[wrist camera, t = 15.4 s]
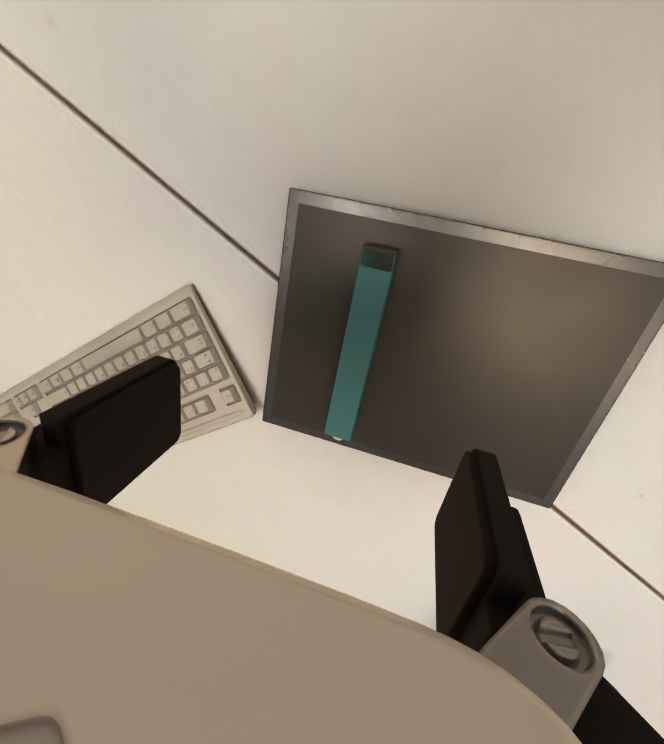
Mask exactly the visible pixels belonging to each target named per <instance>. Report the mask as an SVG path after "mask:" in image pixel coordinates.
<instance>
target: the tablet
mask: <svg viewBox="0 0 664 744" xmlns="http://www.w3.org/2000/svg"><path fill="white" fill-rule="evenodd" d="M369 242H370V243H375V244H379V245H384V246H388V247H393V248H398V249H399V250H400V251H399V255H398V259H397V263H396V267H395V270H394V273H393V277H392V281H391V285H390V289H389V293H388V297H387V301H386V305H385V309H384V313H383V317H382V321H381V325H380V329H379V333H378V337H377V341H376V345H375V349H374V353H373V357H372V361H371V365H370V369H369V373H368V377H367V381H366V385H365V388H364V392H363V396H362V400H361V404H360V408H359V412H358V416H357V420H356V424H355V428H354V431H353V434H352V437H351V439H350V441H347V440H336V439H334V438H333V436H330V435H327V434H324V431H325V427H326V422H327V417H328V412H329V408H330V403H331V398H332V393H333V388H334V384H335V379H336V374H337V369H338V365H339V360H340V355H341V350H342V345H343V341H344V336H345V331H346V326H347V321H348V317H349V312H350V307H351V302H352V298H353V293H354V288H355V283H356V278H357V274H358V269H359V263H360V258H361V253H362V248H363V245H364V244H366V243H369ZM663 323H664V262H659V261H654V260H649V259H644V258H639V257H634V256H629V255H624V254H619V253H614V252H609V251H604V250H599V249H594V248H589V247H584V246H579V245H574V244H569V243H564V242H559V241H554V240H549V239H544V238H539V237H534V236H529V235H524V234H519V233H514V232H509V231H504V230H499V229H494V228H489V227H484V226H479V225H475V224H470V223H465V222H460V221H455V220H450V219H445V218H440V217H435V216H430V215H425V214H420V213H415V212H410V211H405V210H400V209H395V208H390V207H385V206H380V205H375V204H370V203H365V202H360V201H355V200H350V199H345V198H340V197H335V196H330V195H325V194H320V193H315V192H310V191H305V190H300V189H295V188H290V191H289V199H288V208H287V216H286V225H285V233H284V241H283V250H282V258H281V267H280V275H279V284H278V292H277V301H276V309H275V318H274V326H273V335H272V343H271V352H270V360H269V369H268V377H267V386H266V394H265V403H264V411H263V419H262V420H263V421H265V422H269V423H272V424H275V425H278V426H282V427H285V428H288V429H292V430H295V431H298V432H301V433H305V434H308V435H311V436H314V437H318V438H321V439H324V440H327V441H331V442H334V443H337V444H341V445H344V446H347V447H350V448H354V449H357V450H360V451H363V452H367V453H370V454H373V455H376V456H380V457H383V458H386V459H390V460H393V461H396V462H399V463H403V464H406V465H409V466H412V467H416V468H419V469H422V470H425V471H429V472H432V473H435V474H439V475H442V476H445V477H448V478H452V479H453V478H454V476H455V473H456V471H457V469H458V466H459V464H460V462H461V460H462V457H463V455H464V453H465V452H466V451H469V452H472V450H473V449H475V448H476V449H480V450H483V451H486V452H490V453H493V454H495V455H496V457H497V460H498V464H499V467H500V471H501V474H502V478H503V481H504V485H505V488H506V492H507V495H508V496H510V497H514V498H517V499H520V500H523V501H527V502H530V503H533V504H537V505H540V506H543V507H546V508H550V507H551V505H552V504H553V502H554V501H555V499H556V497H557V496H558V494H559V492H560V491H561V489H562V488H563V486H564V484H565V483H566V481H567V479H568V478H569V476H570V474H571V473H572V471H573V470H574V468H575V466H576V465H577V463H578V461H579V460H580V458H581V457H582V455H583V453H584V452H585V450H586V448H587V447H588V445H589V444H590V442H591V440H592V439H593V437H594V435H595V434H596V432H597V430H598V429H599V427H600V426H601V424H602V422H603V421H604V419H605V417H606V416H607V414H608V413H609V411H610V409H611V408H612V406H613V404H614V403H615V401H616V400H617V398H618V396H619V395H620V393H621V391H622V390H623V388H624V386H625V385H626V383H627V382H628V380H629V378H630V377H631V375H632V373H633V372H634V370H635V369H636V367H637V365H638V364H639V362H640V360H641V359H642V357H643V356H644V354H645V352H646V351H647V349H648V347H649V346H650V344H651V342H652V341H653V339H654V338H655V336H656V334H657V333H658V331H659V329H660V328H661V326H662V325H663Z"/></svg>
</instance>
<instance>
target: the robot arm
mask: <svg viewBox="0 0 664 744" xmlns="http://www.w3.org/2000/svg"><path fill="white" fill-rule="evenodd" d="M39 418H40V423H41V424H39V425H37V426H35V427H34V425H33V423H32V422H31V421H30V420H28V419H25V418H22V417H15V416H14V417H0V744H664V739H663V738H662V737H661V736H660V735H659V734H658V733H657V732H656V731H655V730H654V728H653V727H652V726H651V725H650V724H649V723H648V722H647V721H646V720H645V719H644V718H643V717H642V716H641V715H640V714H639V713H638V712H637V711H636V710H635V709H634V708H633V707H632V706H631V705H630V704H629V703H628V702H627V701H626V700H625V699H624V698H623V697H622V696H621V695H620V693H619V692H618V691H617V690H616V689H615V688H614V687H613V686H612V685H611V684H610V683H609V682H608V681H607V680H606V679H605V678H604V677H603V673H604V668H605V662H604V657H603V652H602V650H601V648H600V646H599V644H598V642H597V640H596V638H595V637H594V635H593V634H592V633H591V631H590V630H589V628H588V627H587V626H586V625H585V624H584V623H583V622H582V621H581V620H580V619H579V618H578V617H577V616H576V615H575V614H574V613H572V612H571V611H570V610H568V609H567V608H566V607H564V606H563V605H561V604H559V603H557V602H555V601H553V600H550V599H546V597H545V594H544V591H543V588H542V584H541V581H540V578H539V575H538V571H537V568H536V565H535V562H534V558H533V555H532V552H531V549H530V545H529V542H528V539H527V536H526V532H525V529H524V526H523V523H522V519H521V516H520V514H519V511H518V510H517V509H516V508H514V507H511V506H510V502H509V499H508V495H507V492H506V488H505V485H504V481H503V478H502V474H501V471H500V467H499V464H498V460H497V457H496V455H495V454H493V453H490V452H486V451H483V450H480V449H476V448H475V449H473V450H472V452H469V451H466V452H465V453H464V455H463V457H462V460H461V462H460V464H459V466H458V469H457V471H456V473H455V476H454V478H453V480H452V482H451V485H450V487H449V489H448V492H447V494H446V496H445V498H444V501H443V503H442V505H441V508H440V510H439V512H438V514H437V517H436V521H435V576H436V630H437V631H435V630H433V629H430V628H428V627H426V626H424V625H422V624H419V623H417V622H415V621H412V620H410V619H407V618H405V617H402V616H400V615H397V614H395V613H392V612H390V611H387V610H385V609H382V608H380V607H377V606H375V605H372V604H370V603H367V602H365V601H362V600H360V599H357V598H355V597H352V596H350V595H347V594H344V593H342V592H339V591H337V590H334V589H331V588H329V587H326V586H323V585H321V584H318V583H315V582H313V581H310V580H308V579H305V578H302V577H300V576H297V575H294V574H292V573H289V572H287V571H284V570H281V569H279V568H276V567H273V566H271V565H268V564H266V563H263V562H260V561H258V560H255V559H252V558H250V557H247V556H244V555H242V554H239V553H236V552H234V551H231V550H228V549H226V548H223V547H220V546H218V545H215V544H212V543H210V542H207V541H204V540H202V539H199V538H196V537H194V536H191V535H188V534H185V533H183V532H180V531H177V530H175V529H172V528H169V527H167V526H164V525H161V524H159V523H156V522H153V521H151V520H148V519H145V518H142V517H140V516H137V515H134V514H131V513H129V512H126V511H123V510H120V509H118V508H115V507H112V506H110V505H107V503H108V502H109V501H110V500H112V499H113V498H114V497H115V496H116V495H117V494H118V493H120V492H121V491H122V490H123V489H124V488H125V487H126V486H127V485H129V484H130V483H131V482H132V481H133V480H134V479H135V478H136V477H138V476H139V475H140V474H141V473H142V472H143V471H144V470H146V469H147V468H148V467H149V466H150V465H151V464H152V463H153V462H155V461H156V460H157V459H158V458H159V457H160V456H161V455H162V454H164V453H165V452H166V451H167V450H168V449H169V448H170V447H172V446H173V445H174V444H175V443H176V442H177V441H178V439H179V437H180V435H181V380H180V367H179V366H178V365H177V363H176V361H175V360H172V359H169V358H166V357H162V356H158V355H157V356H154V357H152V358H150V359H148V360H146V361H144V362H142V363H140V364H138V365H136V366H134V367H132V368H130V369H128V370H126V371H124V372H122V373H120V374H118V375H116V376H114V377H112V378H110V379H108V380H106V381H104V382H102V383H100V384H98V385H96V386H94V387H92V388H90V389H88V390H86V391H84V392H82V393H80V394H78V395H76V396H74V397H72V398H70V399H68V400H66V401H64V402H62V403H60V404H58V405H56V406H54V407H52V408H50V409H48V410H46V411H44V412H42V413H40V414H39Z"/></svg>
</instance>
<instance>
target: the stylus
mask: <svg viewBox="0 0 664 744" xmlns="http://www.w3.org/2000/svg"><path fill="white" fill-rule="evenodd" d="M399 251H400V250H399V249H398V248H393V247H388V246H384V245H379V244H375V243H370V242H369V243H366V244H364V245H363V248H362V253H361V258H360V263H359V269H358V274H357V278H356V283H355V288H354V293H353V298H352V302H351V307H350V312H349V317H348V321H347V326H346V331H345V336H344V341H343V345H342V350H341V355H340V360H339V365H338V369H337V374H336V379H335V384H334V388H333V393H332V398H331V403H330V408H329V412H328V417H327V422H326V427H325V431H324V434H327V435H330V436H333V438H334V439H336V440H347V441H350V439H351V437H352V434H353V431H354V428H355V424H356V420H357V416H358V412H359V408H360V404H361V400H362V396H363V392H364V388H365V385H366V381H367V377H368V373H369V369H370V365H371V361H372V357H373V353H374V349H375V345H376V341H377V337H378V333H379V329H380V325H381V321H382V317H383V313H384V309H385V305H386V301H387V297H388V293H389V289H390V285H391V281H392V277H393V273H394V270H395V267H396V263H397V259H398V255H399Z"/></svg>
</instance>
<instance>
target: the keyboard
mask: <svg viewBox="0 0 664 744" xmlns="http://www.w3.org/2000/svg"><path fill="white" fill-rule="evenodd" d="M157 355H158V356H162V357H166V358H169V359H172V360H175V361H176V363H177V365H178V366H179V367H180V380H181V435H180V437H179V439H178V441H177V442H176V443H175V444H174V445H176V444H178V443H181V442H184V441H187V440H190V439H192V438H195V437H198V436H201V435H203V434H206V433H209V432H212V431H214V430H217V429H220V428H223V427H226V426H228V425H231V424H234V423H237V422H239V421H242V420H245V419H248V418H251V417H252V416H253V415H255V414H256V407H255V405H254V404H253V402H252V400H251V398H250V396H249V394H248V392H247V390H246V388H245V386H244V385H243V383H242V381H241V379H240V377H239V375H238V373H237V371H236V369H235V367H234V365H233V364H232V362H231V360H230V358H229V356H228V354H227V352H226V350H225V348H224V346H223V345H222V343H221V341H220V339H219V337H218V335H217V333H216V331H215V329H214V327H213V325H212V323H211V321H210V320H209V318H208V316H207V314H206V312H205V310H204V308H203V306H202V304H201V302H200V300H199V298H198V296H197V294H196V292H195V290H194V288H193V286H192V285H186V286H184V287H183V288H181V289H179V290H178V291H176V292H174V293H173V294H171V295H169V296H168V297H166V298H164V299H162V300H161V301H159V302H157V303H156V304H154V305H152V306H151V307H149V308H147V309H146V310H144V311H142V312H140V313H139V314H137V315H135V316H134V317H132V318H130V319H129V320H127V321H125V322H124V323H122V324H120V325H118V326H117V327H115V328H113V329H112V330H110V331H108V332H107V333H105V334H103V335H101V336H100V337H98V338H96V339H95V340H93V341H91V342H90V343H88V344H86V345H85V346H83V347H81V348H79V349H78V350H76V351H74V352H73V353H71V354H69V355H68V356H66V357H64V358H63V359H61V360H59V361H57V362H56V363H54V364H52V365H51V366H49V367H47V368H46V369H44V370H42V371H41V372H39V373H37V374H35V375H34V376H32V377H30V378H29V379H27V380H25V381H24V382H22V383H20V384H19V385H17V386H15V387H13V388H12V389H10V390H8V391H7V392H5V393H3V394H2V395H0V417H14V416H15V417H22V418H25V419H28V420H30V421H31V422H32V423H33V425H34V427H35V426H37V425H39V424H41V423H40V418H39V414H40V413H42V412H44V411H46V410H48V409H50V408H52V407H54V406H56V405H58V404H60V403H62V402H64V401H66V400H68V399H70V398H72V397H74V396H76V395H78V394H80V393H82V392H84V391H86V390H88V389H90V388H92V387H94V386H96V385H98V384H100V383H102V382H104V381H106V380H108V379H110V378H112V377H114V376H116V375H118V374H120V373H122V372H124V371H126V370H128V369H130V368H132V367H134V366H136V365H138V364H140V363H142V362H144V361H146V360H148V359H150V358H152V357H154V356H157Z"/></svg>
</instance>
